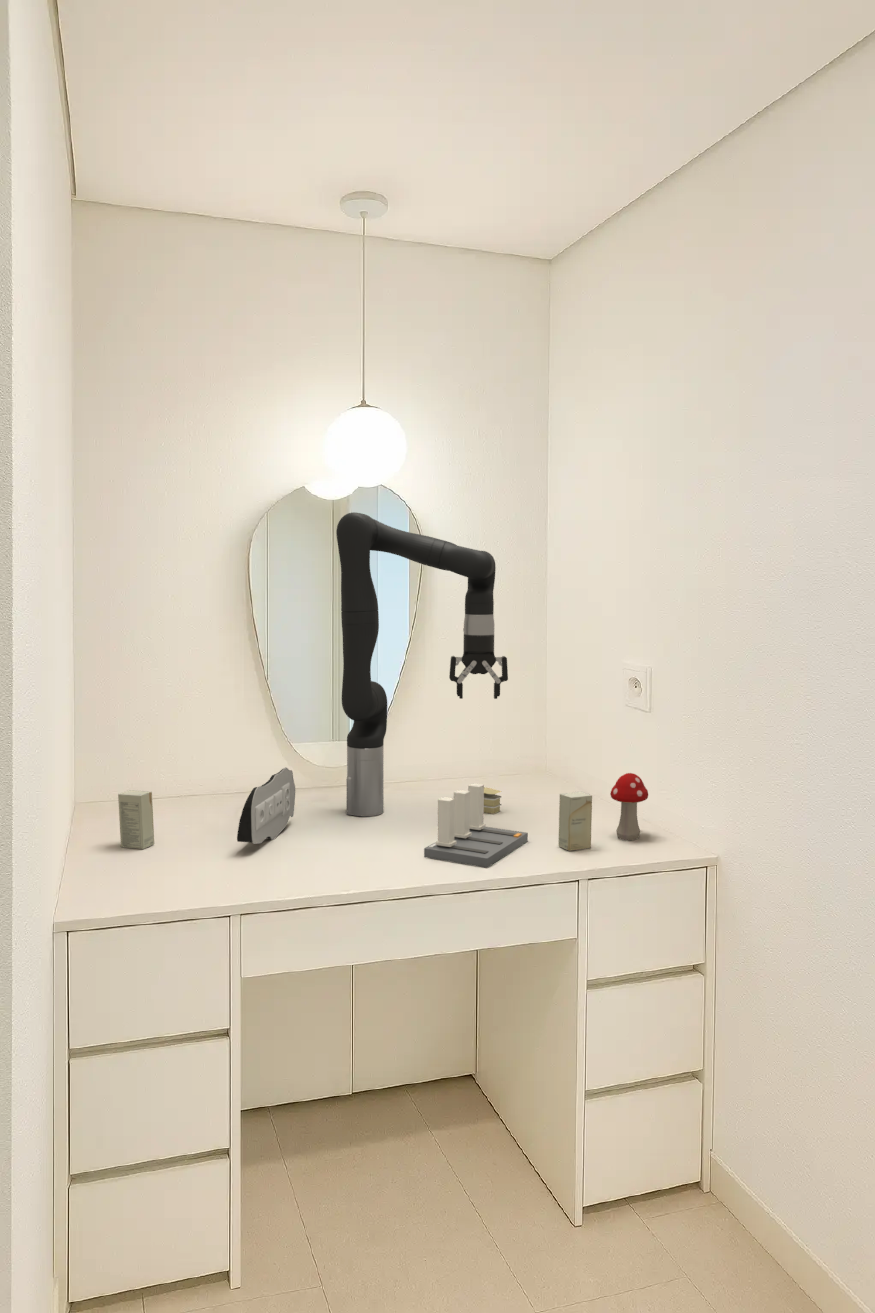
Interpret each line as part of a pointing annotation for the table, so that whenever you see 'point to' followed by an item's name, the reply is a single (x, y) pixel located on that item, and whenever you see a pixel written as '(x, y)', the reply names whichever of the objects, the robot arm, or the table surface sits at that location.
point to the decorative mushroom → (629, 804)
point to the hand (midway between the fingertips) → (478, 698)
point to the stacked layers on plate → (491, 800)
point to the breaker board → (469, 836)
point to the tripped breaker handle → (476, 806)
